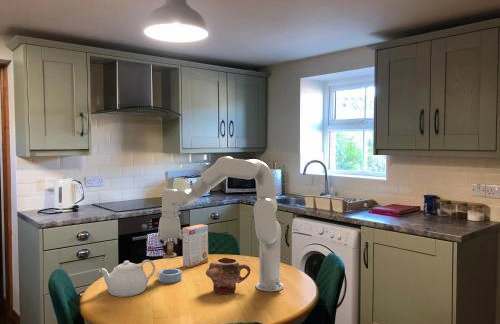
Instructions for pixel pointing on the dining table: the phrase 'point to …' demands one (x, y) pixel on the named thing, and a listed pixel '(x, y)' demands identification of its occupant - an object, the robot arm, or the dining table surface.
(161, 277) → the blue faceted bowl
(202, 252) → the cracker box
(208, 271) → the sculpted mug
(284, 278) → the dining table surface
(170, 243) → the lid
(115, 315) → the dining table surface
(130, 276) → the teapot
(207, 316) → the dining table surface
